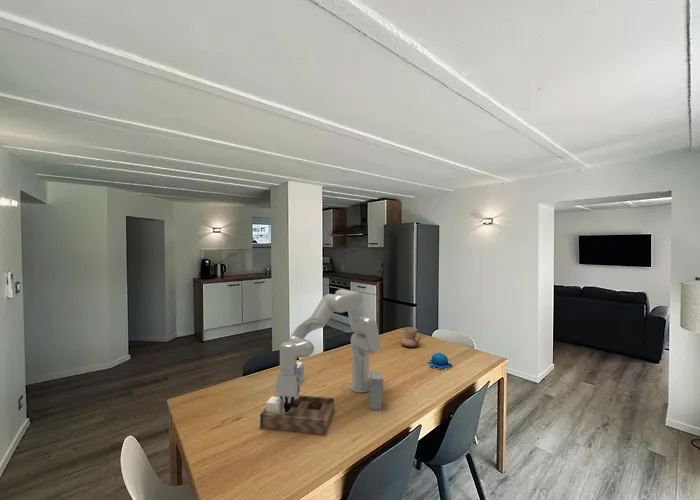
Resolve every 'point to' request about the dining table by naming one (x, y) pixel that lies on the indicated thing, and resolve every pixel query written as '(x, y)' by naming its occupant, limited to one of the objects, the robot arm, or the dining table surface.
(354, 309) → the robot arm
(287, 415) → the box
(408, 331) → the ceramic jug
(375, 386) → the skincare box
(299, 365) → the light bulb box
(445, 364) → the plush toy
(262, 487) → the dining table surface
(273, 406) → the cream block
